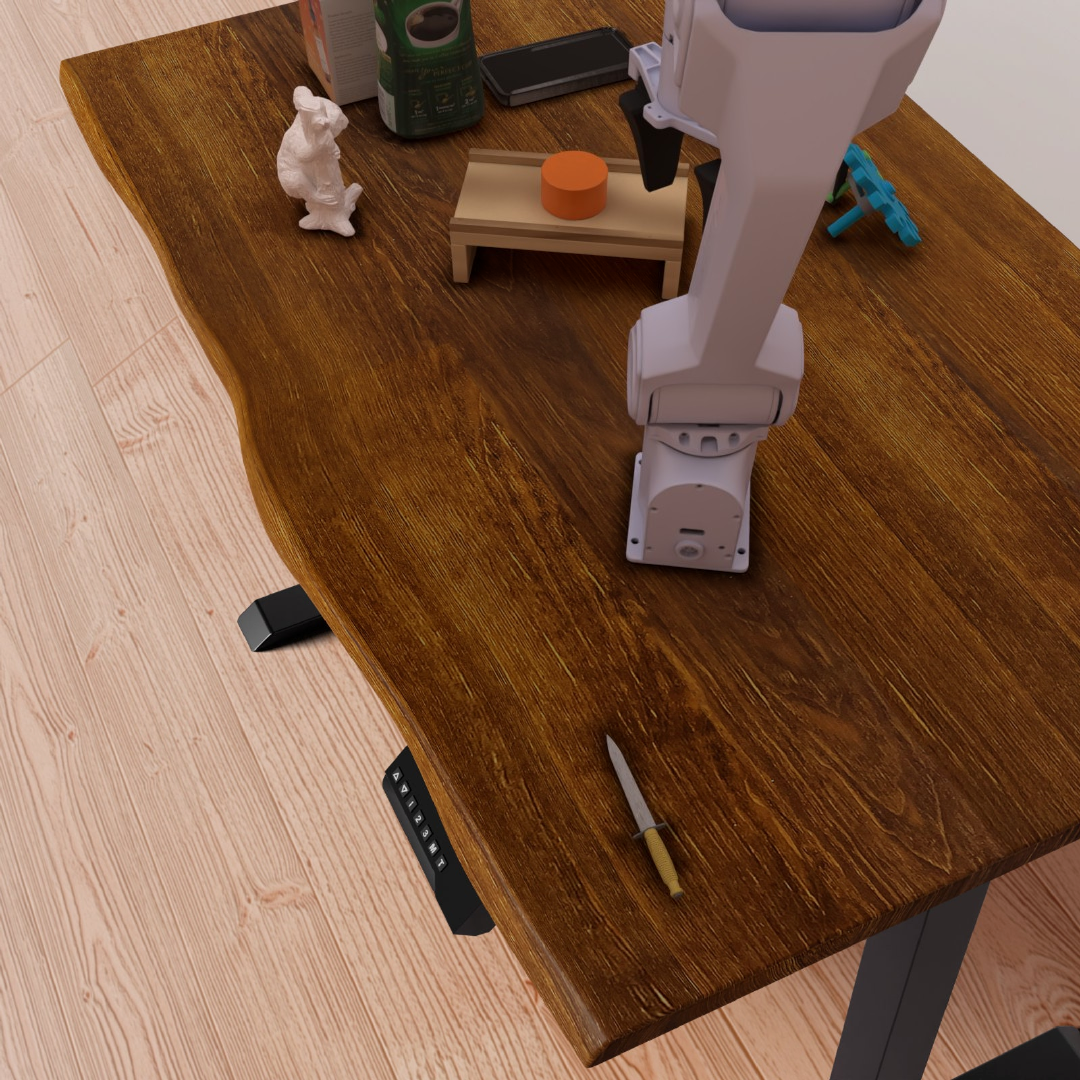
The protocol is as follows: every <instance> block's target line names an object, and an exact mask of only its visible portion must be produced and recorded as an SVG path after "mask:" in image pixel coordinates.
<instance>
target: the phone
mask: <svg viewBox="0 0 1080 1080" xmlns="http://www.w3.org/2000/svg"><path fill="white" fill-rule="evenodd" d="M634 47H635V46H634V45H633V44H631V42H630V41H629V40H628V39H627V38H626V36H625V35H624V34H623V33H622V32H621V31H620V30H619V29H618V28H616V27H613V26H601V27H597V28H594V29H588V30H583V31H580V32H575V33H571V34H567V35H562V36H558V37H553V38H549V39H544V40H539V41H536V42H531V43H527V44H521V45H518V46H514V47H509V48H504V49H501V50H495V51H492V52H488V53H487V52H486V53H484V54H480V55H478V62H479V67H480V73H481V78H482V82H484V83H485V86H486V87H487V88H488V89H489V91H490V92H491V93H492V95H493V96H494V98H495V99H496V101H497V102H498V103H499V104H500V105H502V106H505V107H516V106H520V105H524V104H528V103H532V102H536V101H540V100H544V99H549V98H553V97H557V96H562V95H565V94H570V93H574V92H578V91H582V90H587V89H591V88H594V87H599V86H603V85H608V84H612V83H615V82H619V81H620V82H621V81H624V80H628V79H633V78H632V77H631V76H629V75H628V70H629V54H630V49H631V48H634Z"/></svg>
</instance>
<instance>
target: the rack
mask: <svg viewBox="0 0 1080 1080" xmlns="http://www.w3.org/2000/svg"><path fill="white" fill-rule="evenodd" d="M555 154H556V153H549V152H548V153H546V152H532V151H519V150H505V149H491V148H478V147H477V148H475V147H470V148H469V151H468V165H467V168H466V171H465V174H464V179H463V183H462V186H461V191H460V193H459V196H458V200H457V203H456V208H455V212H454V214H453V215H454V216H450V219H449V223H448V225H449V237H450V249H451V250H450V251H451V264H452V275H453V282H454V283H463V284H469V281H470V277H471V273H472V269H473V265H474V262H475V258H476V253H477V248H478V247H486V248H501V249H513V250H526V251H537V252H538V251H539V252H552V253H564V254H574V255H575V254H576V255H590V256H602V257H615V258H627V259H628V258H629V259H641V260H642V259H643V260H653V261H664V270H663V281H662V291H661V299H662V300H671V299H674V298H677V297H678V292H679V285H680V284H679V283H680V277H681V276H680V275H681V268H682V259H683V258H682V257H683V249H684V241H685V226H686V225H685V224H686V212H687V210H686V209H687V201H688V200H687V199H688V186H689V174H690V173H689V172H690V163H687V162H679V163H678V168H677V173H676V176H675V179H674V182H673V184H672V185H670V186H667V187H664V188H661V189H658V190H655V191H653V192H650V193H649V192H648V191H647V190H646V189H645V187H644V184H643V179H642V174H641V169H640V163H639V159H631V158H630V159H629V158H618V157H617V158H616V157H604V156H598V157H599V158H601V159H602V160H603V161H604V162H605V164H606V165H607V168H608V184H607V202H606V205H605V207H604V209H603V210H602V211H601V212H600V213H598V214H597V215H595V216H593V217H590V218H587V219H582V220H566V219H562V218H558V217H556V216H554V215H552V214H550V213H549V212H547V211H546V210H545V208H544V207H543V205H542V202H541V168H542V165H543V163H544V162H545V161H546V160H547V159H548V158H549V157H551V156H553V155H555Z"/></svg>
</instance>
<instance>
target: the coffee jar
mask: <svg viewBox="0 0 1080 1080" xmlns="http://www.w3.org/2000/svg"><path fill="white" fill-rule="evenodd" d="M373 5H374V13H375V23H376V42H377V86H378V96H377V99H378V108H379V112H380V115H381V118H382V122H384V125H385V126H386V127H387V128H388V129H389V131H391V132H392V133H393V134H395V135H397V136H399V137H402V138H404V139H409V140H416V139H417V140H418V139H424V138H425V139H426V138H432V137H436V136H437V137H438V136H441V135H446V134H451V133H455V132H459V131H462V130H465V129H469V128H471V127H473V126H475V125H477V124H478V123H479V122H480V121H481V119H483V117H484V115H485V111H486V103H485V101H486V100H485V93H484V84H483V79H482V78H481V73H480V67H479V62H478V57H479V55H478V51H477V46H476V39H475V33H474V25H473V18H472V7H471V0H373Z"/></svg>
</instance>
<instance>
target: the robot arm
mask: <svg viewBox="0 0 1080 1080" xmlns="http://www.w3.org/2000/svg"><path fill="white" fill-rule="evenodd" d="M947 1H948V0H665V3H664V15H663V27H662V39H661V46H660V45H659V44H658V43H657V42H655V41H651V42H647V43H644V44H640V45H637V46H633V47H634V48H631V49H630V54H629V70H628V75H629V76H631V77H632V78H631V79H632V80H634V81H636V82H637V83H636V84H635V85H634V88H633V89H629V90H627V91H624V92H622V93H621V94H620V95H619V97H618V106H619V108H620V110H621V112H622V113H623V115H624V118H625V119H626V122H627V123H628V126H629V129H630V131H631V135H632V137H633V141H634V143H635V145H634V146H635V148H636V153H637V158H638V160H639V163H640V169H641V174H642V179H643V184H644V187H645V189H646V190H647V191H648V192H649V193H650V192H653V191H655V190H658V189H661V188H664V187H667V186H670V185H672V184H673V182H674V179H675V176H676V173H677V168H678V163H680V157H681V151H682V146H683V140H684V137H685V134H686V135H688V136H691V137H692V138H695V139H697V140H699V141H701V142H704V143H706V144H708V145H710V146H712V147H715V148H717V149H719V153H720V157H718V158H715V159H712V160H710V161H707V162H704V163H701V164H698V165H695V166H694V167H693V174H694V175H695V179H696V181H697V183H698V186H699V187H698V188H699V189H700V194H701V201H702V229H701V230H702V231H701V241H700V245H699V249H698V252H697V257H696V261H695V265H694V269H693V273H692V276H691V281H690V284H689V289H688V293H685V294H683V295H679V296H677V298H674V299H667V300H664V301H661V302H659V303H656V304H653V305H651V306H648V307H645V308H643V309H642V310H641V311H640V318H638V319H637V320H636V321H635V325H633V326H632V327H631V328H630V330H629V334H628V344H627V362H626V364H627V365H626V400H627V403H626V405H627V412H628V413H627V414H628V416H629V417H630V418H631V419H632V420H633V421H634V423H635V424H636V425H637V426H644V429H643V430H644V431H643V432H644V433H643V441H642V449H641V450H642V452H641V451H640V452H638V453H637V454H636V455H635V460H634V461H635V462H634V472H633V482H632V493H631V502H630V510H629V511H630V512H629V520H628V532H627V541H626V551H625V554H626V555H625V557H626V559H627V561H629V562H631V563H635V564H636V563H637V564H647V565H658V566H668V567H678V568H688V569H699V570H708V571H718V572H729V573H739V574H741V573H745V572H747V571H748V570H749V569H748V568H749V564H750V563H749V562H750V517H751V516H750V512H751V511H750V510H751V508H750V507H751V476H752V471H753V468H754V467H753V466H754V462H755V457H756V453H757V448H758V445H759V442H761V441H767V440H768V435H769V431H770V427H771V426H772V427H783V426H784V425H786V423H787V421H789V420H790V418H792V416H793V415H794V413H795V412H796V408H797V404H798V400H799V394H800V386H801V383H802V380H803V377H804V373H805V346H804V334H803V333H804V332H803V325H802V322H800V319H799V313H798V311H797V310H796V309H795V308H793V307H791V306H789V305H787V304H784V303H782V302H783V300H784V298H785V296H786V292H787V291H788V290H789V289H788V288H789V286H790V284H791V282H792V279H793V278H794V275H795V272H796V270H797V268H798V265H799V263H800V261H801V258H802V256H803V254H804V252H805V249H806V247H807V245H808V242H809V239H810V237H811V235H812V233H813V231H814V228H815V225H816V223H817V221H818V218H819V217H820V214H821V211H822V210H823V207H824V205H825V203H826V201H825V200H826V198H827V196H828V193H829V191H830V189H831V186H832V184H833V182H834V179H835V177H836V175H837V172H838V170H839V168H840V166H841V163H842V161H843V159H844V156H845V154H846V152H847V149H848V147H849V145H850V143H852V140H853V139H854V138H855V137H856V136H858V135H859V134H861V133H863V132H865V131H867V129H869V128H871V127H872V126H874V125H877V124H878V123H879V122H881V121H883V120H884V119H886V118H888V117H889V116H891V115H892V114H894V113H895V112H897V110H898V109H899V107H900V104H901V102H902V100H903V99H904V96H905V94H906V92H907V90H908V88H909V86H910V85H911V84H912V83H913V81H914V80H915V77H916V76H917V73H918V71H919V69H920V67H921V65H922V63H923V61H924V58H925V57H926V54H927V52H928V50H929V48H930V46H931V44H932V42H933V39H934V38H935V35H936V33H937V31H938V29H939V26H941V25H940V24H941V23H942V21H943V17H944V14H945V11H946V6H947ZM633 542H636V543H633ZM740 553H741V554H740Z"/></svg>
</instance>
